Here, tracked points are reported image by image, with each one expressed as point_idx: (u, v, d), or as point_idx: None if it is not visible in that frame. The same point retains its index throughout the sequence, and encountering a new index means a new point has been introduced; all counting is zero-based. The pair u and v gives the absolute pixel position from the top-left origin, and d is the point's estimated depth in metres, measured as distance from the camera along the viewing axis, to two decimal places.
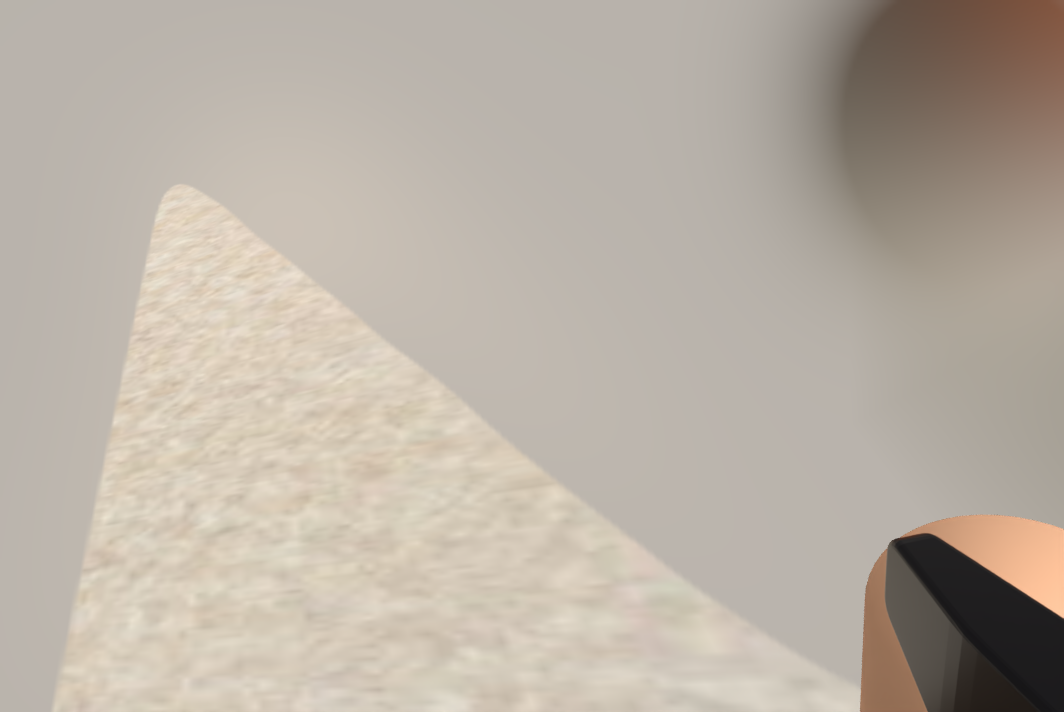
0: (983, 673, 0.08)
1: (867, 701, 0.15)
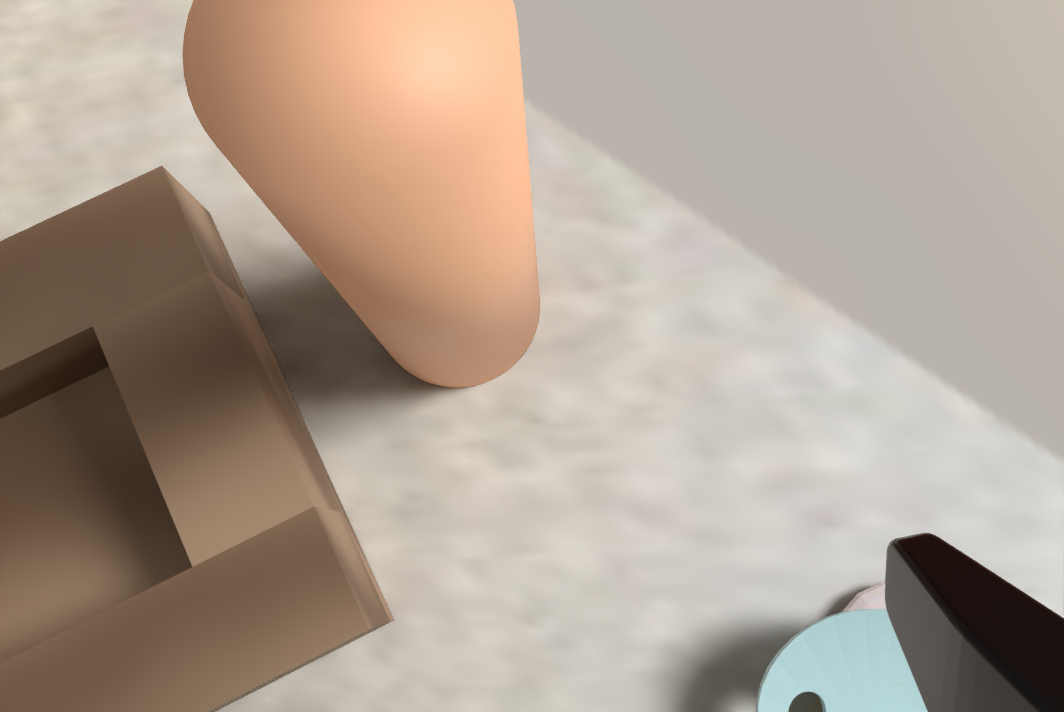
0: (983, 673, 0.08)
1: None
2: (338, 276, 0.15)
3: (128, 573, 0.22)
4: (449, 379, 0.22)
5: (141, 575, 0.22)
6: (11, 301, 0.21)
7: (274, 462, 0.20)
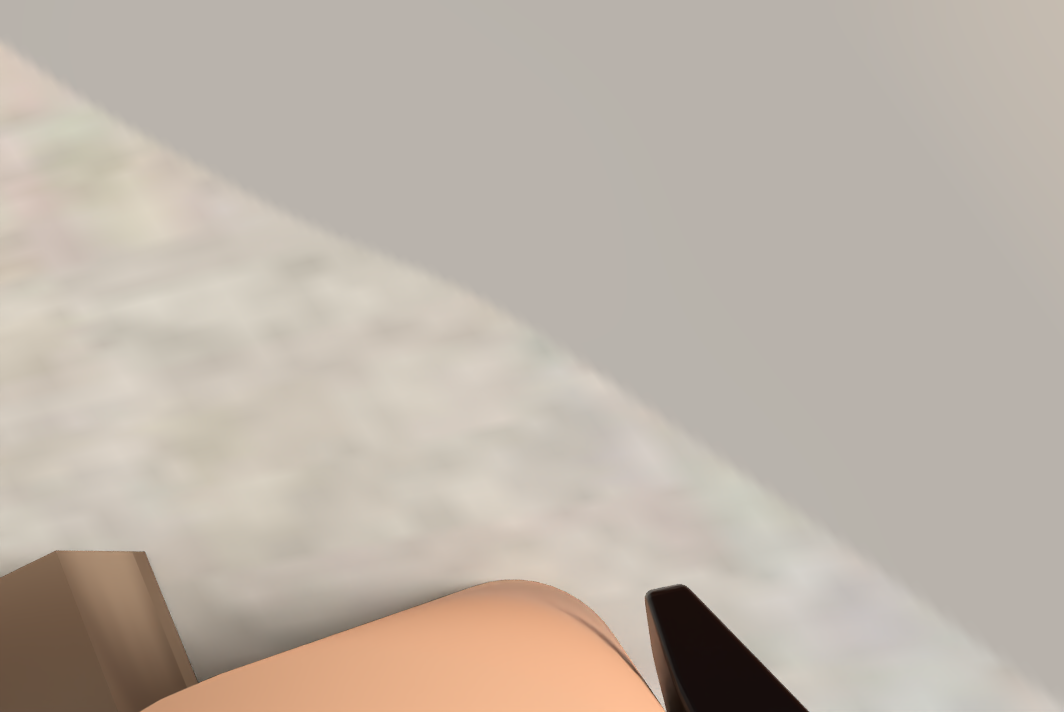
0: None
1: None
2: None
3: None
4: None
5: None
6: None
7: None
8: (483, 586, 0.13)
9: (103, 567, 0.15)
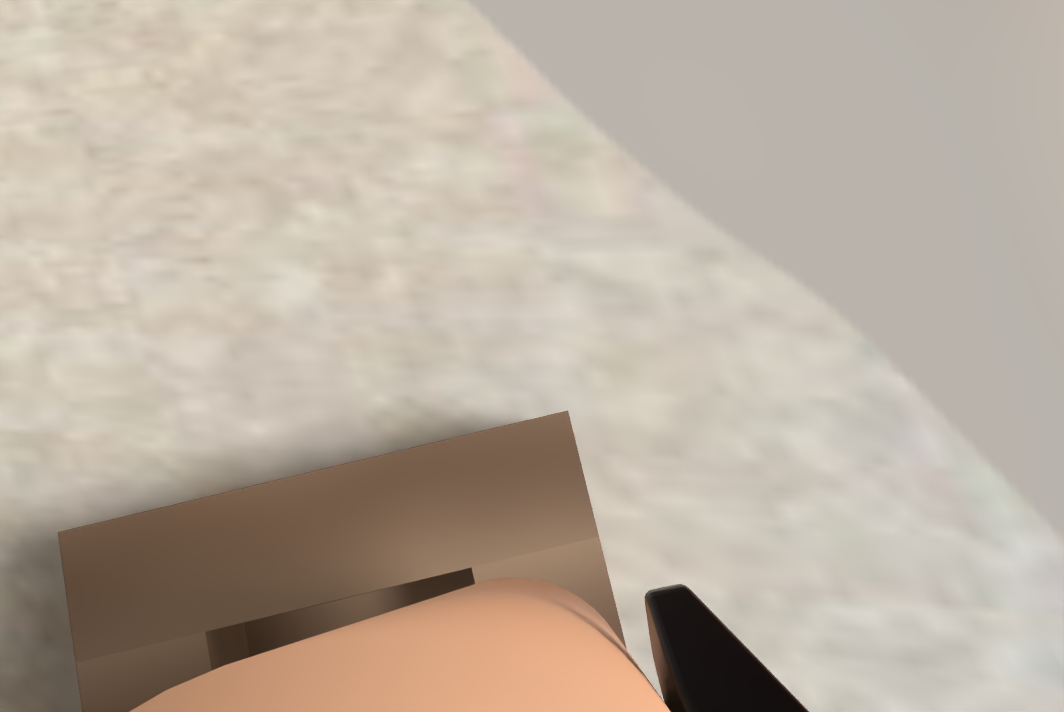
0: None
1: None
2: None
3: None
4: None
5: None
6: (392, 520, 0.20)
7: None
8: (484, 583, 0.13)
9: None
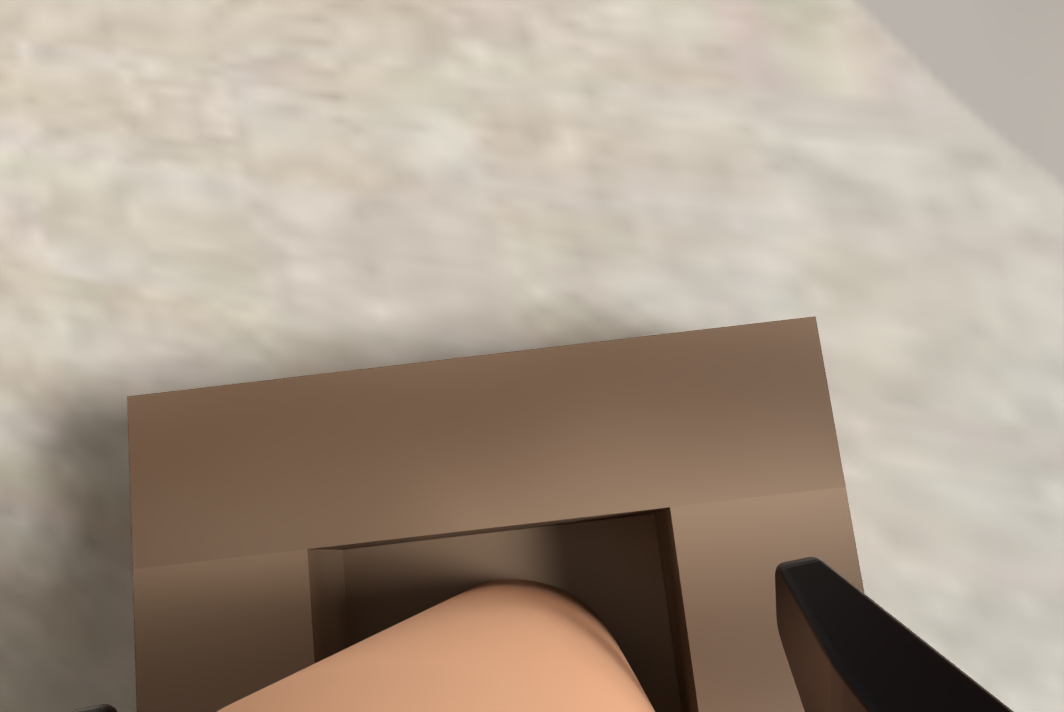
0: (848, 701, 0.08)
1: None
2: None
3: None
4: None
5: None
6: (569, 433, 0.15)
7: None
8: (487, 588, 0.14)
9: None
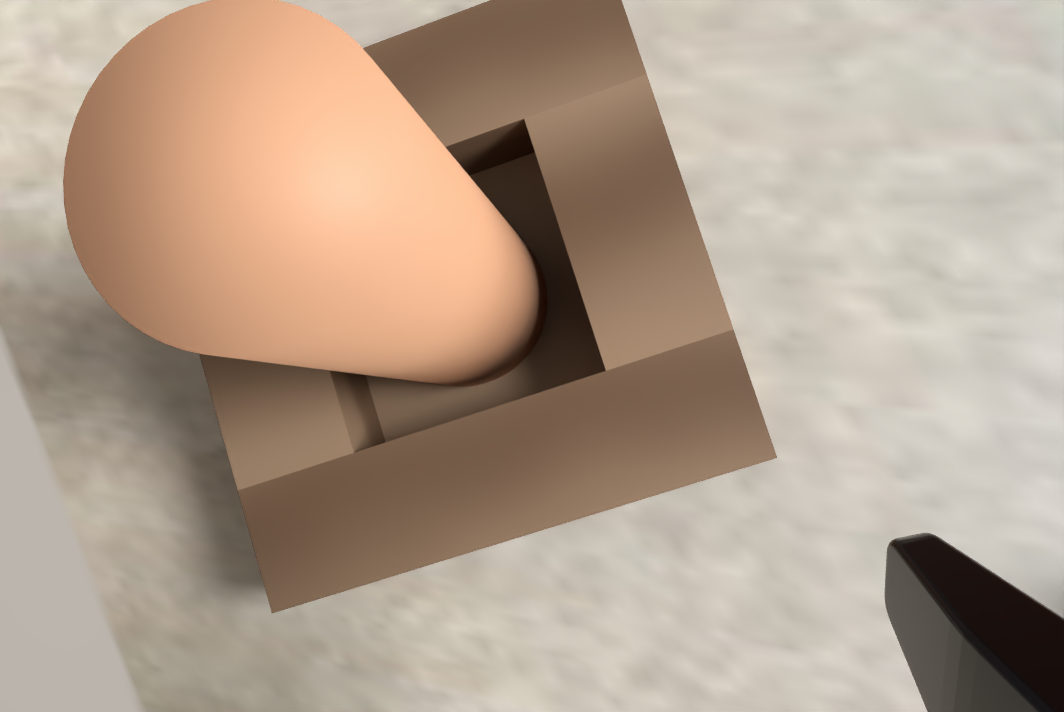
0: (983, 673, 0.08)
1: None
2: None
3: None
4: (468, 383, 0.22)
5: (523, 371, 0.23)
6: (444, 84, 0.21)
7: (697, 280, 0.20)
8: None
9: None
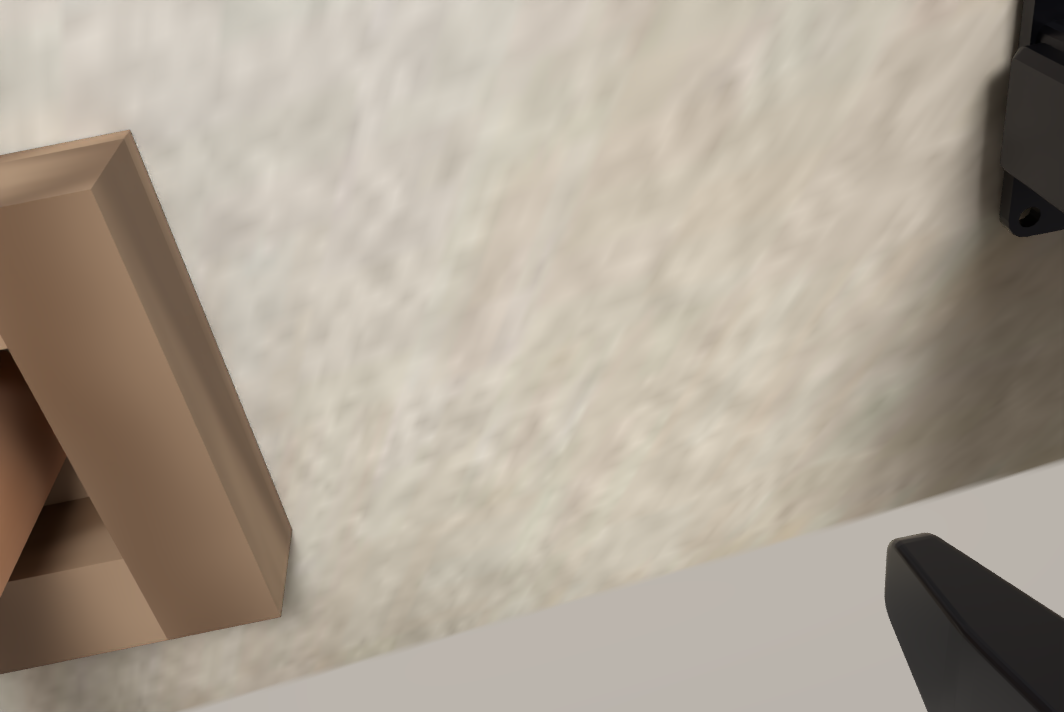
0: (983, 673, 0.08)
1: None
2: None
3: None
4: (56, 439, 0.21)
5: None
6: None
7: None
8: None
9: None
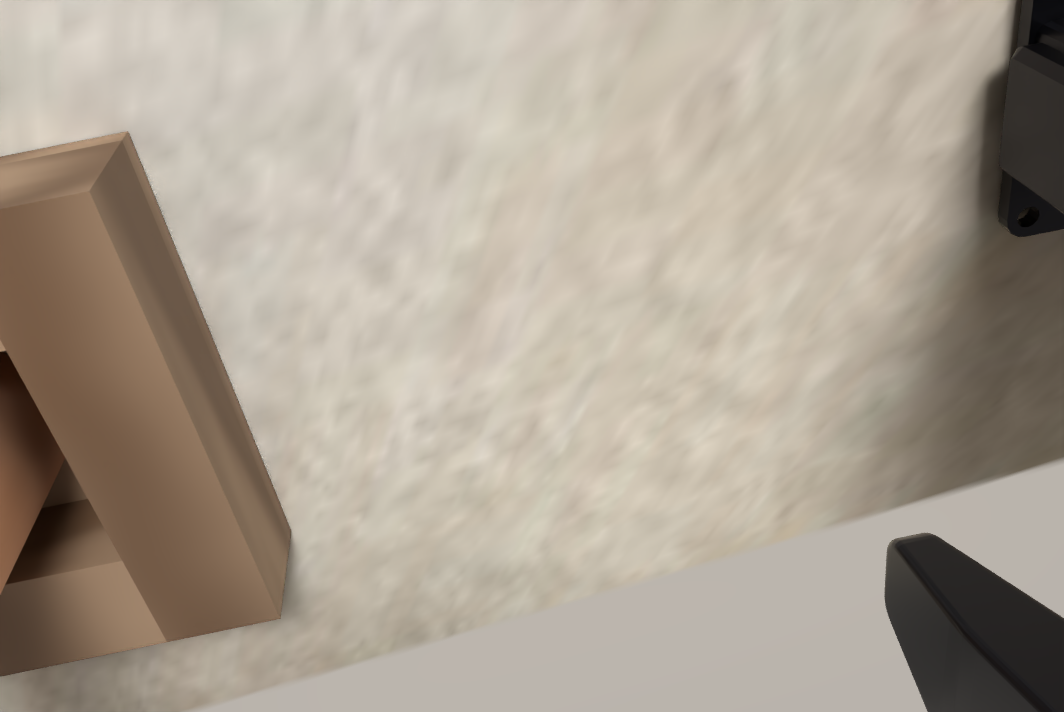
0: (983, 673, 0.08)
1: None
2: None
3: None
4: (54, 441, 0.21)
5: None
6: None
7: None
8: None
9: None
